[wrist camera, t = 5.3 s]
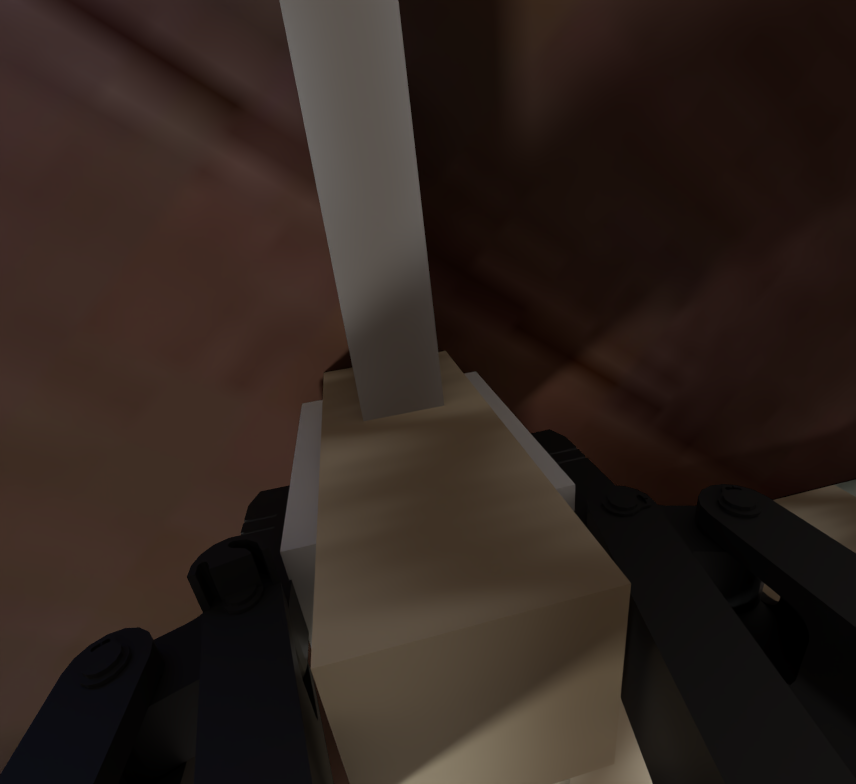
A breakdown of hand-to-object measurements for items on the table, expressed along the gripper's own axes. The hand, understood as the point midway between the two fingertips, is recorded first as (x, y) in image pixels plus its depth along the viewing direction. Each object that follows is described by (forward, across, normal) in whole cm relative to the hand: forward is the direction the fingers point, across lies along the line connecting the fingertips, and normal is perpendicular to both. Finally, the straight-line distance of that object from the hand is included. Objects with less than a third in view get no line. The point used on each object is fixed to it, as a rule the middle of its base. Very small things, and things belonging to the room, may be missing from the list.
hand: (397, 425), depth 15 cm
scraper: (+1, 0, 0) cm, 1 cm away
